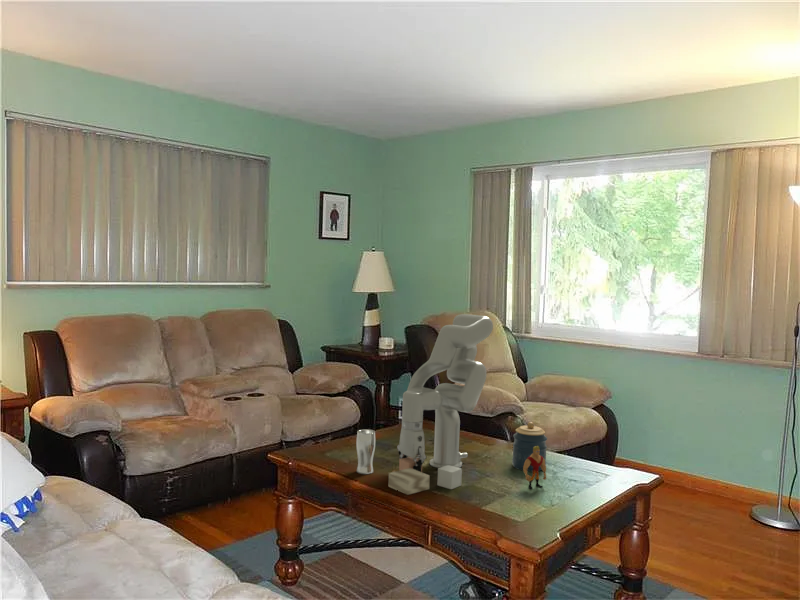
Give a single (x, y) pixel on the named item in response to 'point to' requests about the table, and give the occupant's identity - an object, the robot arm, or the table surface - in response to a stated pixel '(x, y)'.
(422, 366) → the robot arm
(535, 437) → the canister
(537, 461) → the action figure
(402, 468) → the terracotta block
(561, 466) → the table surface
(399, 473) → the ash base block
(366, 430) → the beer glass
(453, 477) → the grey block
